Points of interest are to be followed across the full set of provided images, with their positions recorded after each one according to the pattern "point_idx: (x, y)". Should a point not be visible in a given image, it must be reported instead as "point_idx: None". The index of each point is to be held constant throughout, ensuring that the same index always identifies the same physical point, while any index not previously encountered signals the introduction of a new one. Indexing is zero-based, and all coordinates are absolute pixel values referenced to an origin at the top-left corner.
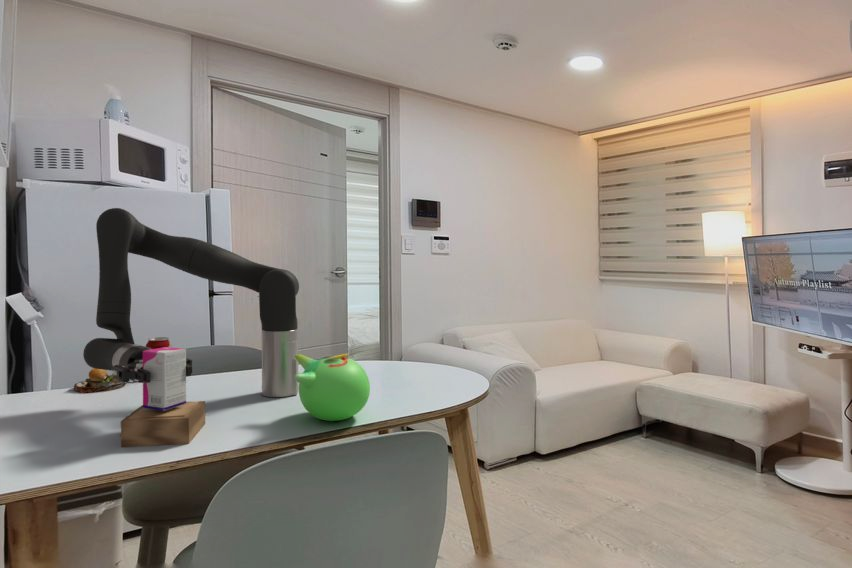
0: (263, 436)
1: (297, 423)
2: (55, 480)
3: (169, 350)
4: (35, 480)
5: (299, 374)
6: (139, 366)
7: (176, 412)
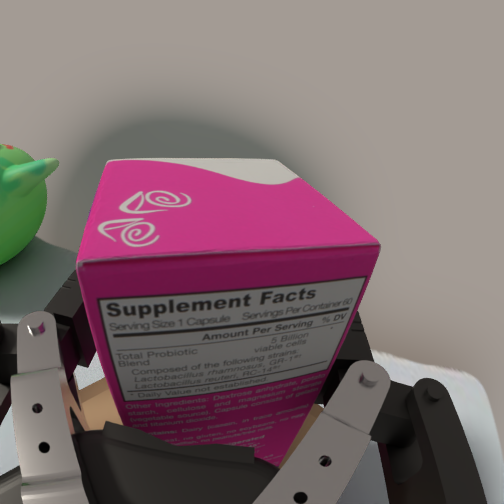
0: None
1: (21, 283)
2: (439, 375)
3: (212, 168)
4: (462, 393)
5: (50, 158)
6: (344, 419)
7: None
